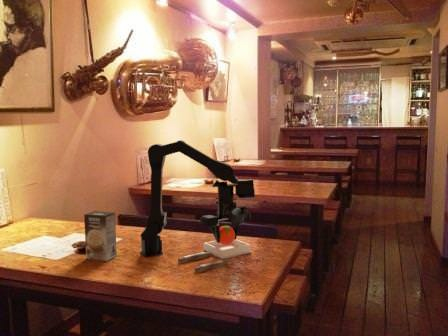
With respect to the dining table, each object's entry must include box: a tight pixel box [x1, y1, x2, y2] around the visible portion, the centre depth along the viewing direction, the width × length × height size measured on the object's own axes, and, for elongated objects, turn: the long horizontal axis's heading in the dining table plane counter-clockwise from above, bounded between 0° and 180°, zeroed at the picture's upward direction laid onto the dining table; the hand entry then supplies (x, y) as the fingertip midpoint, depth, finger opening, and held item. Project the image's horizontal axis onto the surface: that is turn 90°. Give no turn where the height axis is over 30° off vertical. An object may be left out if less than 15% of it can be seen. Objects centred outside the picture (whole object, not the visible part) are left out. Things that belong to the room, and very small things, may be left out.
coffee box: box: [83, 210, 118, 262], centre depth 142 cm, size 9×6×16 cm
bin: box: [203, 238, 251, 260], centre depth 147 cm, size 12×12×3 cm
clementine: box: [219, 225, 235, 245], centre depth 146 cm, size 8×7×7 cm
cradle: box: [177, 251, 228, 274], centre depth 134 cm, size 12×12×2 cm
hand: (226, 241), depth 147 cm, fingers closed on clementine, 7 cm apart
